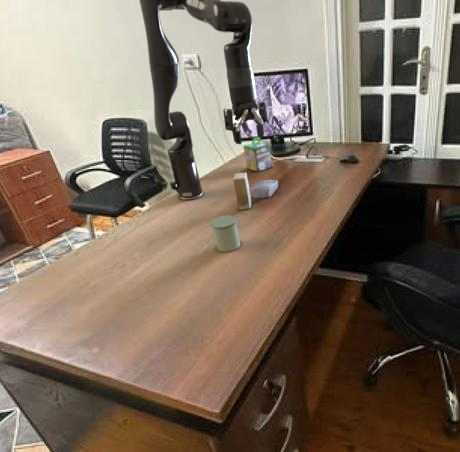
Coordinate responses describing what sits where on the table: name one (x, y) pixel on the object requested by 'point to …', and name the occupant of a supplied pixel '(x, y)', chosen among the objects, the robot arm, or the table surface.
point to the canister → (226, 233)
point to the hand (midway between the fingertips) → (249, 140)
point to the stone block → (263, 189)
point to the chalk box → (257, 155)
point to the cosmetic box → (242, 191)
